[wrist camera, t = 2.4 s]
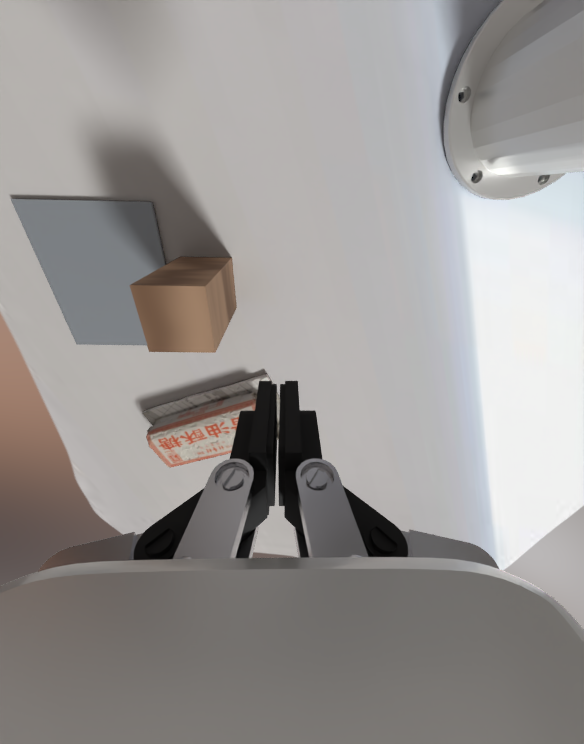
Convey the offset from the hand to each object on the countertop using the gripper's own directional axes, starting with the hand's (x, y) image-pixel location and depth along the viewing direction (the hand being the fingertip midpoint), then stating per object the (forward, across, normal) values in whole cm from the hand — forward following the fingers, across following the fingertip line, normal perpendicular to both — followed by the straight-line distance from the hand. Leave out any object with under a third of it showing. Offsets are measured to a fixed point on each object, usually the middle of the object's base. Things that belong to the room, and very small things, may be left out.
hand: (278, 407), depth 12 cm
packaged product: (+20, +8, +18) cm, 28 cm away
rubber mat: (+19, +18, 0) cm, 26 cm away
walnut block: (+19, +8, 0) cm, 21 cm away
